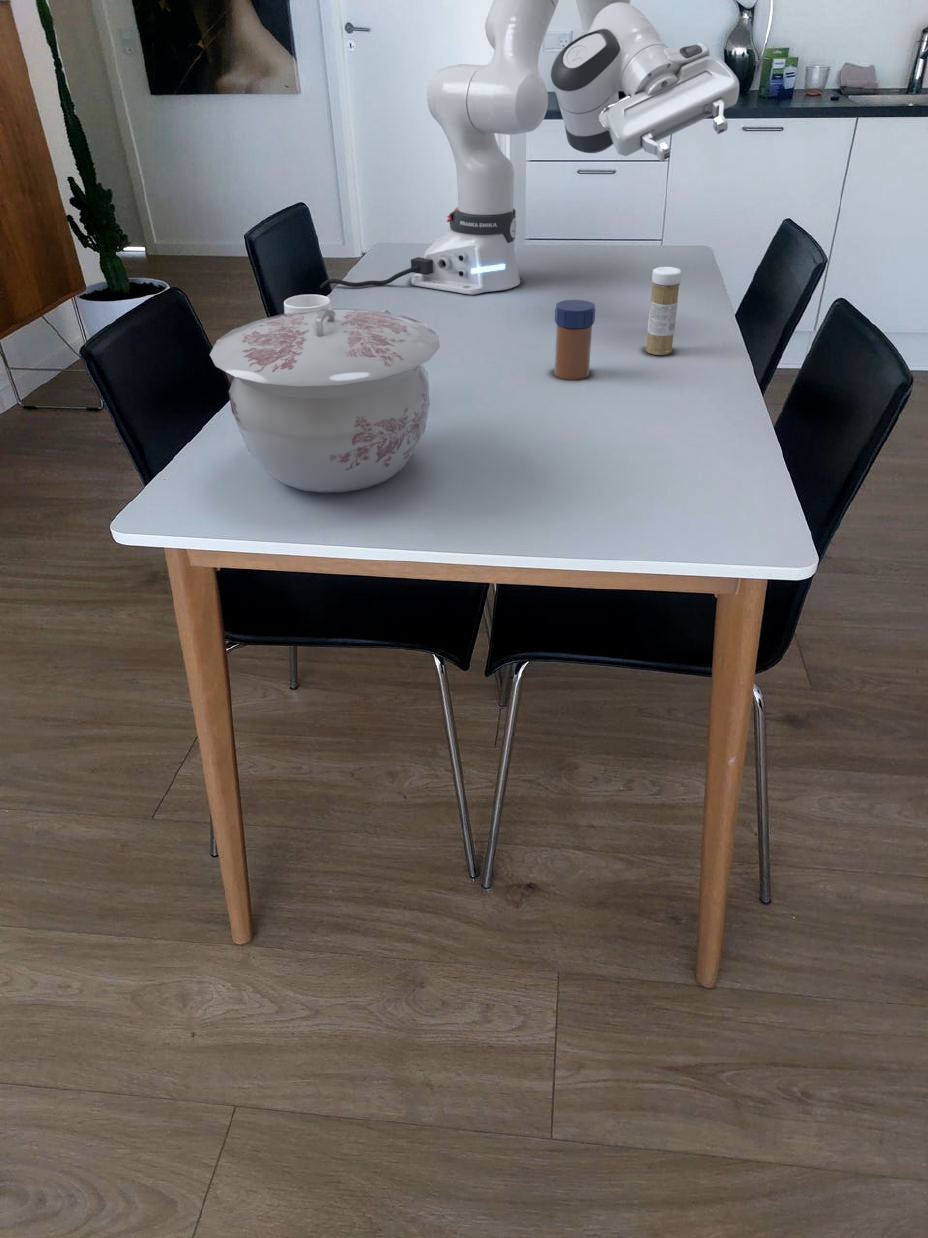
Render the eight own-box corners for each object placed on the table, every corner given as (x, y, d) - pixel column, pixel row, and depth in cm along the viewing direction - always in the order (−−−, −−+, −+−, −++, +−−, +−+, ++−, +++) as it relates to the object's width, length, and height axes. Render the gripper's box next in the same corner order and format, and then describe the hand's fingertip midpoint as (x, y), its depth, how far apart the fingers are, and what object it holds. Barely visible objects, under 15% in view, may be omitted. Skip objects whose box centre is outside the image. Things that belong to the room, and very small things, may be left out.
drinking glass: (347, 396, 145) (339, 296, 136) (327, 412, 139) (317, 309, 131) (307, 391, 146) (296, 292, 138) (286, 407, 141) (274, 305, 133)
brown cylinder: (550, 377, 150) (553, 311, 144) (559, 366, 155) (562, 301, 149) (584, 381, 149) (588, 314, 143) (592, 370, 153) (597, 304, 147)
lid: (550, 326, 146) (551, 308, 144) (561, 315, 150) (562, 298, 149) (588, 330, 144) (589, 312, 142) (598, 318, 148) (599, 301, 147)
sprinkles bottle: (657, 345, 162) (665, 264, 155) (678, 352, 160) (687, 269, 152) (639, 351, 160) (647, 268, 153) (659, 358, 157) (669, 274, 150)
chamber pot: (269, 540, 108) (243, 362, 96) (206, 452, 128) (178, 296, 117) (485, 487, 118) (485, 321, 107) (395, 413, 139) (387, 266, 127)
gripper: (592, 96, 147) (630, 156, 142) (714, 37, 146) (757, 95, 140) (595, 128, 153) (632, 187, 148) (713, 72, 151) (754, 129, 146)
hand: (694, 142), depth 144 cm, fingers open, 8 cm apart
